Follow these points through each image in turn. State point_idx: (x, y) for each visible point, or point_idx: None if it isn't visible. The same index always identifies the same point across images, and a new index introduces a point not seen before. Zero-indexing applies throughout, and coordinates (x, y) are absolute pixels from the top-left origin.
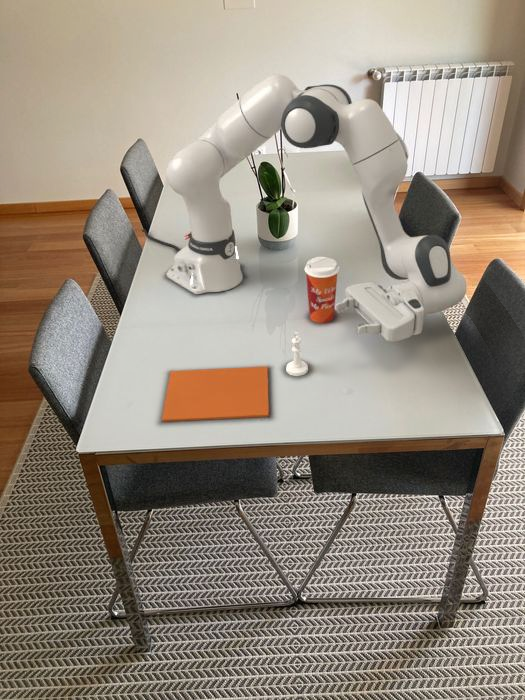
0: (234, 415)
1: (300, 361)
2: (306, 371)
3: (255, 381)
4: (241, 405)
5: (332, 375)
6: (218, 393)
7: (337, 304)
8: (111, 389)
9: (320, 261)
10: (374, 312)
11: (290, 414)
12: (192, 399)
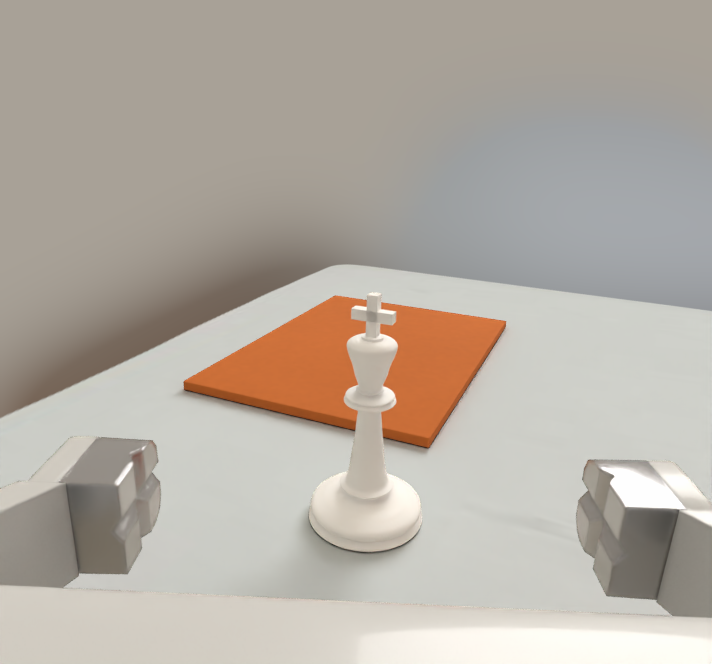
0: (248, 346)
1: (357, 478)
2: (318, 528)
3: None
4: (274, 359)
5: None
6: None
7: (653, 461)
8: (483, 286)
9: None
10: (81, 608)
11: (138, 422)
12: None
